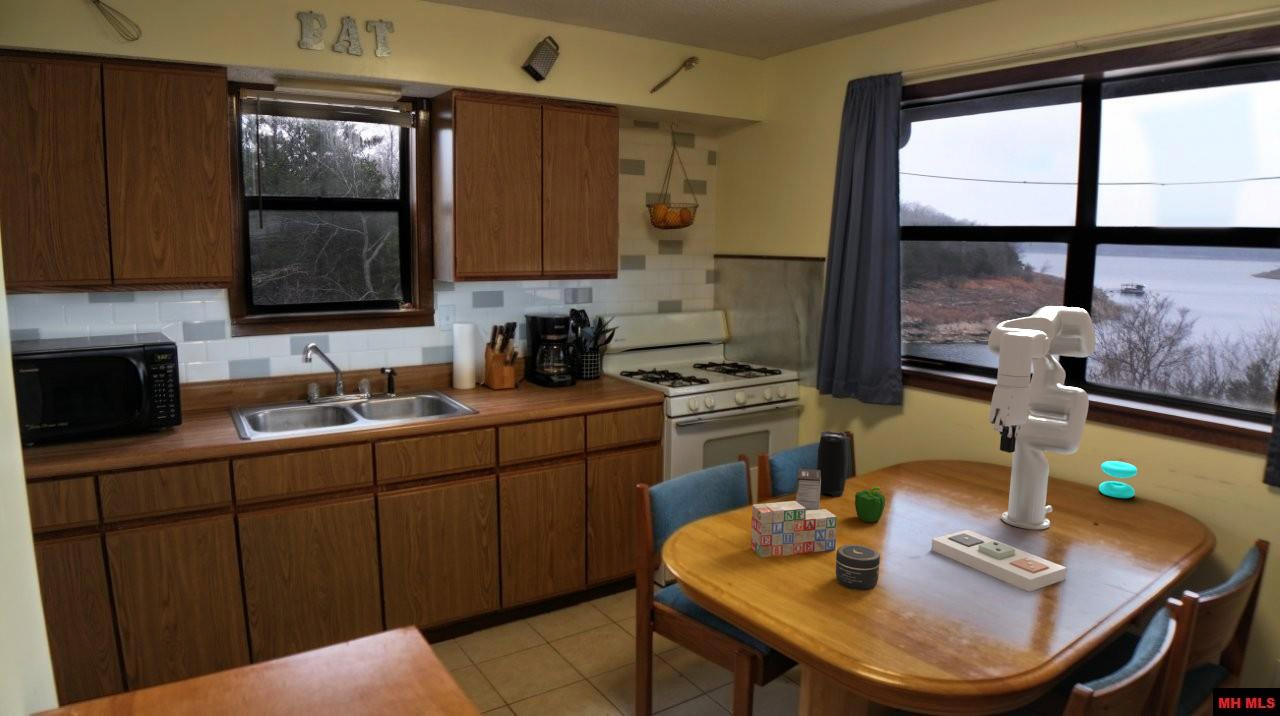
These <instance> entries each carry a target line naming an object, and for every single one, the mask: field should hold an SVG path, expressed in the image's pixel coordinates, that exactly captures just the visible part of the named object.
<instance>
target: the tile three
mask: <svg viewBox="0 0 1280 716" xmlns="http://www.w3.org/2000/svg"><path fill="white" fill-rule="evenodd" d="M1010 564H1011V565H1013V566H1016V567H1018V568H1021V569H1023V570H1026V571H1028V572H1031V573H1033V574H1034V573H1037V572H1040V571H1043V570H1046V569H1049V566H1047V565H1044V564H1042V563H1039V562H1036V561H1034V560H1031V559H1029V558H1022V559H1019V560H1016V561H1012V562H1010Z"/></svg>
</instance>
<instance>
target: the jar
mask: <svg viewBox="0 0 1280 716" xmlns="http://www.w3.org/2000/svg"><path fill="white" fill-rule="evenodd" d="M880 557H881V555H880V553H879V552H878V551H877V550H876V549H874V548H872V547H869V546H865V545H862V544H845V545H841V546H839V547H838V548H837V550H836V556H835V561H836V562H835V577H836V580H837V582H838V583H839V584H840V586H843V587H845V588H848V589H849V590H850V589H851V590H856V591H869V590H872V589H874V588H875V586H876V585H877V583H878V581H879V574H880V572H879V571H880V564H881V562H880V561H881V558H880Z"/></svg>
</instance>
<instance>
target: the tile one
mask: <svg viewBox="0 0 1280 716" xmlns="http://www.w3.org/2000/svg"><path fill="white" fill-rule="evenodd" d="M949 540H952V541H954V542H957V543H959V544H962V545H964V546H966V547H971V546H975V545H978V544H982V543H983V542H984V541H982V540H980V539H977V538H975V537H972V536H970V535H967V534H965V533H963V534H959V535H956V536H952V537H949Z"/></svg>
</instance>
